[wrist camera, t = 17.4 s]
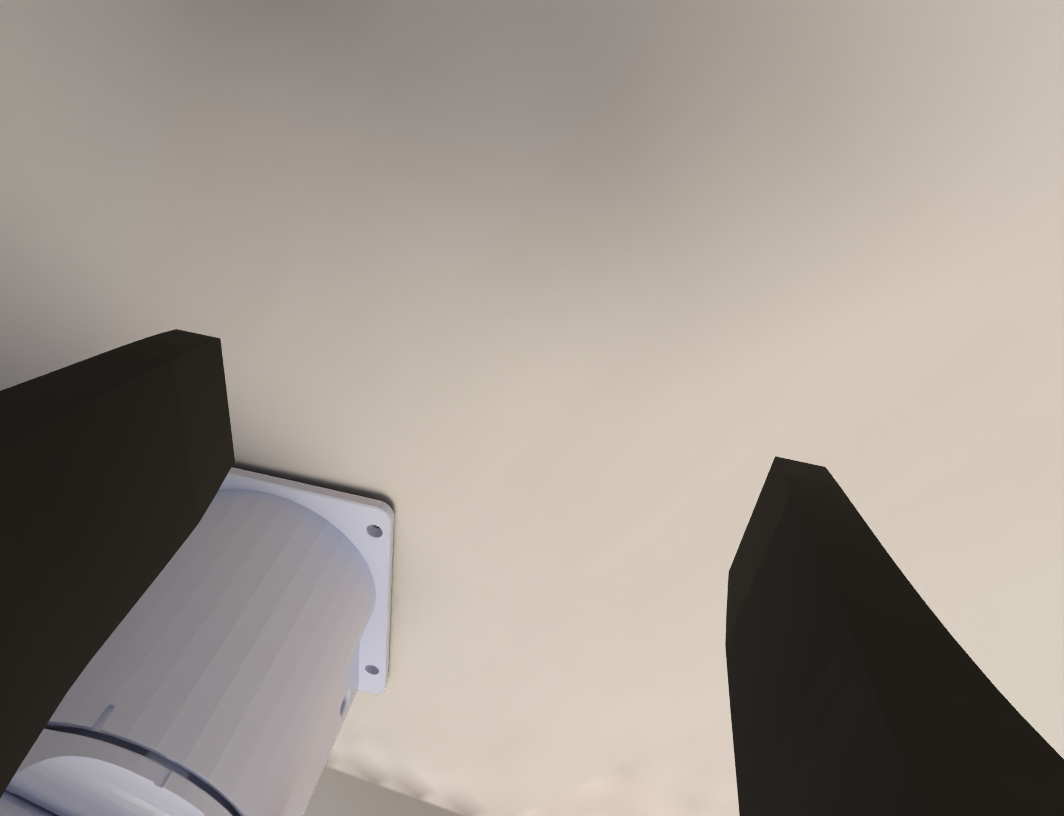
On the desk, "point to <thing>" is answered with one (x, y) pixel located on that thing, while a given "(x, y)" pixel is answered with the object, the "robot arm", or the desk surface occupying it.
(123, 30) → the desk surface
